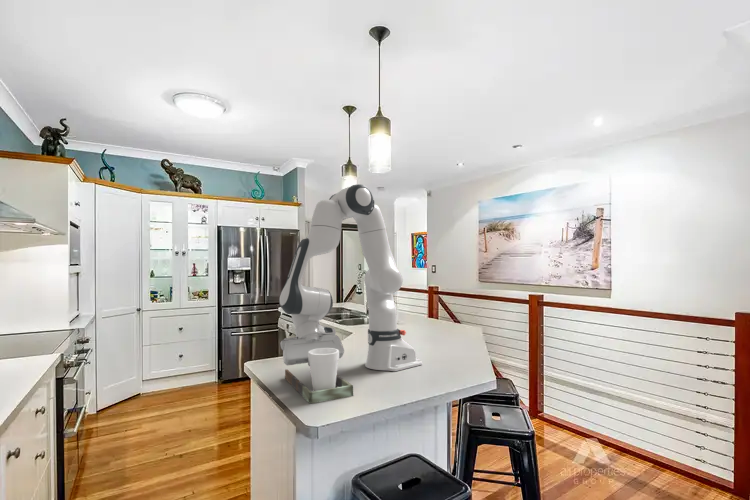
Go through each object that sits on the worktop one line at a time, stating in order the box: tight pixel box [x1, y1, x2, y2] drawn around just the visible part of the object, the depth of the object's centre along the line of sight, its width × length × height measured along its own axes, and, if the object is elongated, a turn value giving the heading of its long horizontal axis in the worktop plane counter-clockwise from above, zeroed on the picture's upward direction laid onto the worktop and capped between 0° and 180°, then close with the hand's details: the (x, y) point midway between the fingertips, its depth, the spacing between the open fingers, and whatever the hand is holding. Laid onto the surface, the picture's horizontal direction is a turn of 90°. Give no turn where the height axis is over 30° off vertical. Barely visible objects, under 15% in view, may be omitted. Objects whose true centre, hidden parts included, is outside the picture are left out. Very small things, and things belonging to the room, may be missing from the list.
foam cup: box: [308, 348, 340, 392], centre depth 116 cm, size 10×9×13 cm
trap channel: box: [284, 369, 354, 405], centre depth 123 cm, size 14×28×3 cm, turn 28°
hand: (319, 371), depth 121 cm, fingers closed, pressing on foam cup
